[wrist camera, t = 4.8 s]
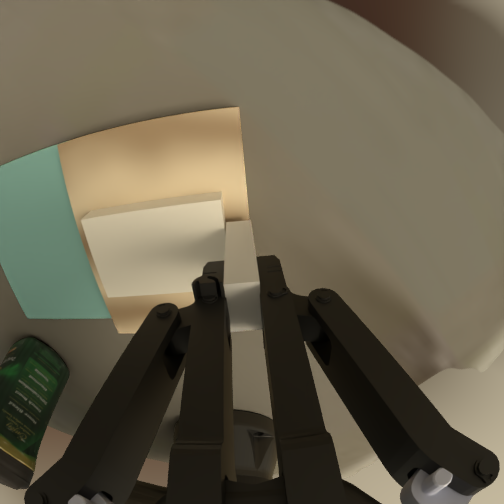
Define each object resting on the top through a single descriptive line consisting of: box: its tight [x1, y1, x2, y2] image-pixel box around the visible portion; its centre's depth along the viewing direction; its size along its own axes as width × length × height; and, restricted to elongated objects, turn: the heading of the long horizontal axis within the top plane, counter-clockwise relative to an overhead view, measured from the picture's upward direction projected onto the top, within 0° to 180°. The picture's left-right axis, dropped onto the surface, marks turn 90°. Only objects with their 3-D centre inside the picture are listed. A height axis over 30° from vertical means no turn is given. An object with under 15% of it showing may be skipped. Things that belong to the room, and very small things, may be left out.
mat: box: [0, 140, 112, 319], centre depth 21 cm, size 16×13×1 cm
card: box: [81, 191, 226, 298], centre depth 18 cm, size 6×9×2 cm, turn 95°
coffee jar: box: [0, 337, 69, 490], centre depth 20 cm, size 10×8×19 cm
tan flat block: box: [57, 107, 249, 333], centre depth 20 cm, size 16×12×2 cm
